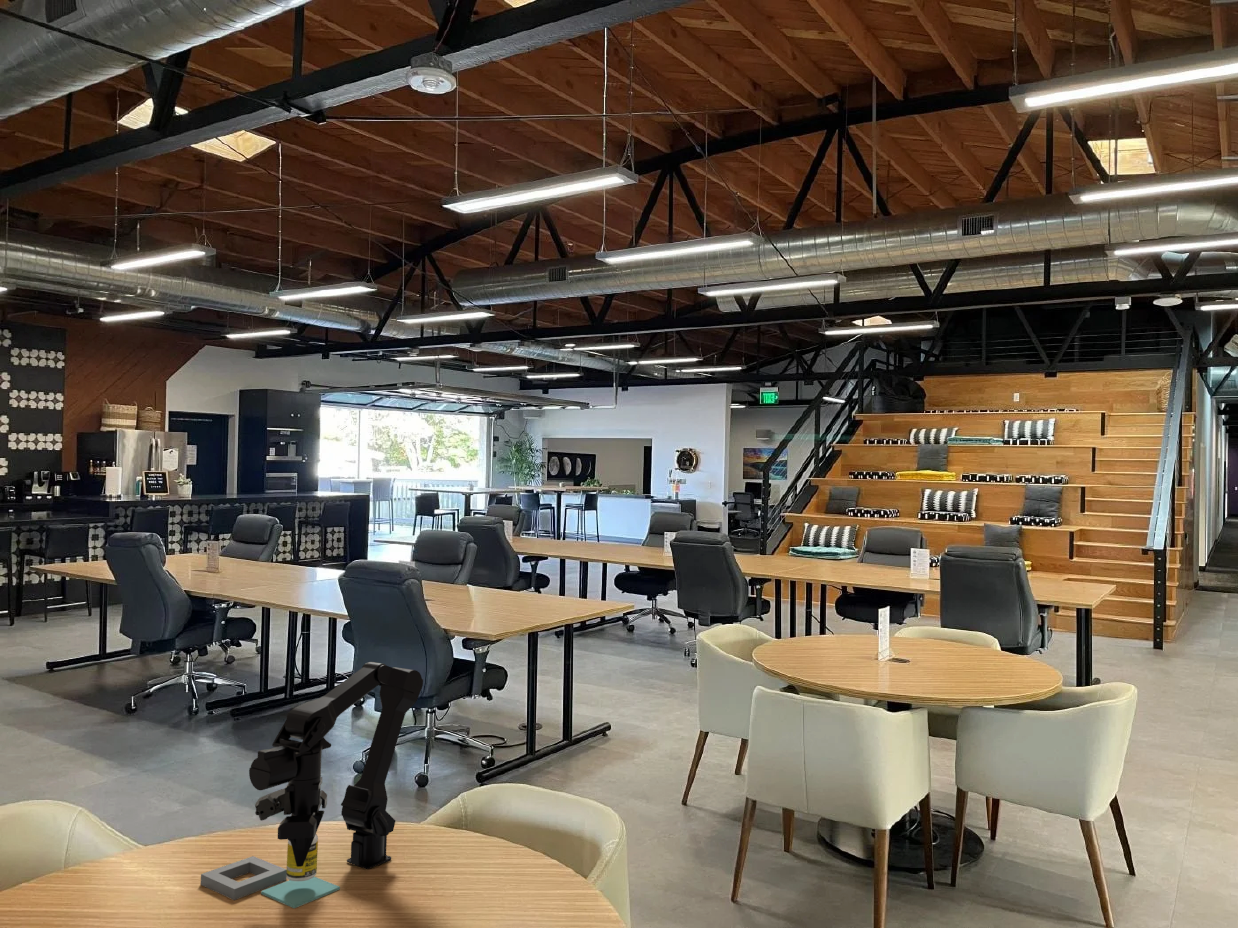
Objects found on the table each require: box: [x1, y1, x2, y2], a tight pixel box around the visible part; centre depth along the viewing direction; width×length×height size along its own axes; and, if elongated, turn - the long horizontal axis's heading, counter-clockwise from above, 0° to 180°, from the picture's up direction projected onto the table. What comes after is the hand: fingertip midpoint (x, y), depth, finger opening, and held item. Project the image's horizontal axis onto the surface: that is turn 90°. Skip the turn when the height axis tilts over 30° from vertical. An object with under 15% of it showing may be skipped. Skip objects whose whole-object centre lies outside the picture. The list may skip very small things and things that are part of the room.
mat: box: [260, 876, 341, 909], centre depth 167 cm, size 10×10×1 cm
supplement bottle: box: [286, 833, 319, 881], centre depth 168 cm, size 5×5×10 cm
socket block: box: [200, 855, 288, 901], centre depth 171 cm, size 11×11×2 cm
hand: (302, 859), depth 168 cm, fingers closed on supplement bottle, 5 cm apart
